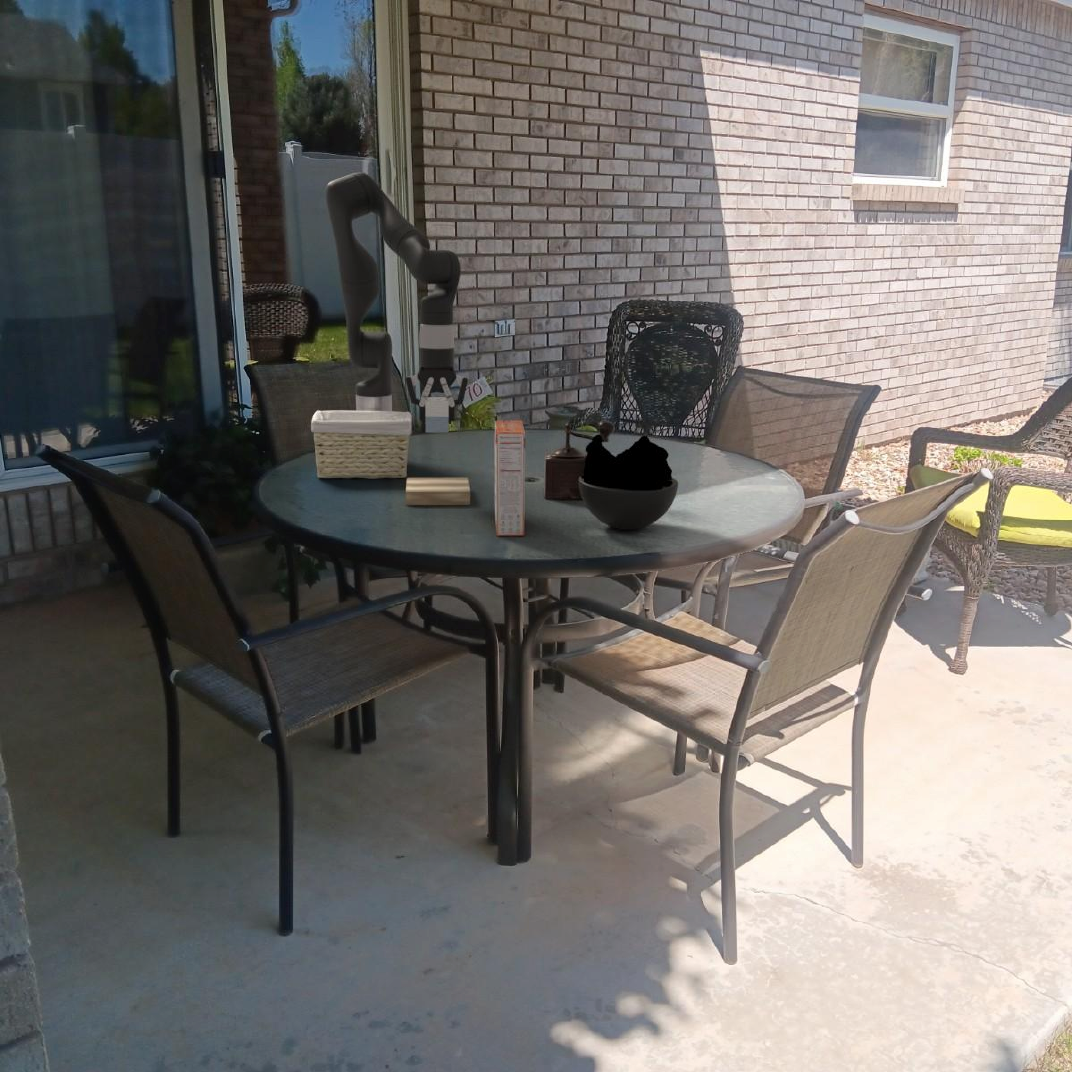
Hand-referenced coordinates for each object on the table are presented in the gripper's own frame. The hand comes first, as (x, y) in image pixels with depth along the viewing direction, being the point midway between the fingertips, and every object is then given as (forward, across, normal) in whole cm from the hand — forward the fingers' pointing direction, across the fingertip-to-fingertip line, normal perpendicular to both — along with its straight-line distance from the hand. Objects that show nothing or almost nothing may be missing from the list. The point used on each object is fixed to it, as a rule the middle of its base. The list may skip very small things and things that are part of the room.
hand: (437, 422), depth 226 cm
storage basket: (+17, -18, +26) cm, 36 cm away
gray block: (+2, 0, 0) cm, 2 cm away
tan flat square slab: (+17, 0, 0) cm, 17 cm away
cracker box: (+17, +14, -26) cm, 34 cm away
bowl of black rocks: (+17, +38, -27) cm, 50 cm away
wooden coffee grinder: (+17, +32, +2) cm, 36 cm away
